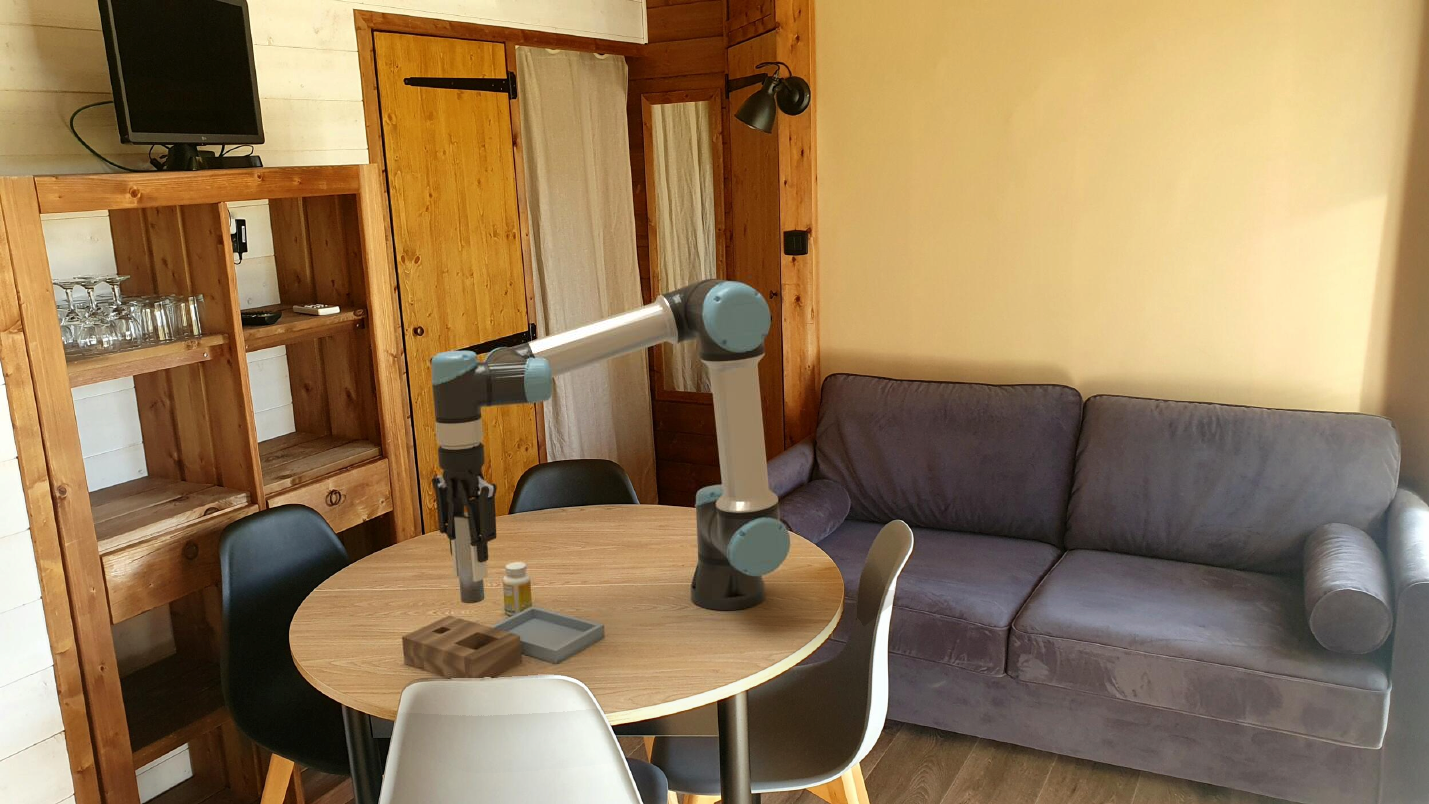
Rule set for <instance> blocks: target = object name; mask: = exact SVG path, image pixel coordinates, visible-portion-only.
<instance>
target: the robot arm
mask: <svg viewBox="0 0 1429 804" xmlns="http://www.w3.org/2000/svg"><path fill="white" fill-rule="evenodd" d="M770 311H771V310H770V308H769V304H768V303H767V301H766V299H765V298H764V296H763V295H762V294H761V293H760V292H759V291H757V289H755V288H753V287H751V286H750V285H748V284H746V283H743V282H740V281H735V280H734V281H732V280H725V279H720V278H706V279H702V280H698V281H696V282H693V283H690V284H688V285H685V286H682V287H679V288H677V289H675V290H672V291H669V292H666V293H662V294H660V295H658V296H657V297H656V299H655V301H654V302H651V303H649V304H646V305H642V306H640V307H636V308H634V309H633V308H632V309H630V310H627V311H624V312H623V311H622V312H620V313H616V314H613V315H610V316H607V317H604V318H600V319H597V320H594V321H592V322H588V323H585V324H582V325H579V326H576V327H571V328H569V329H566V330H563V331H559V332H556V333H553V334H549V335H547V336H543V337H540V338H538V339H534V340H532V341H528V342H524V343H521V344H518V345H515V346H511V347H507V346H504V347H503V346H501V347H497V348H495V349H492V350H491V351H489V352H488V354H487V355H486V356H485V358H484V360H483V361H479V359H478V355H477V353H476V352H474V351H471V350H451V351H449V350H448V351H443V352H439V353H436V354H435V355H434V356H433V357H432V359H431V362H430V363H431V364H430V365H431V389H432V398H433V407H434V409H433V410H434V417H435V418H434V419H435V434H436V435H435V436H436V437H435V438H436V444H438V445H439V446H438V448H437V457H438V466H439V468H440V469H441V470H443V471H442V475H441V474H440V475H439V476H435V477H433V478H431V484H432V487H433V488H434V493H435V503H436V512H437V519H438V520H437V522H438V531H439V532H440V534H442V535H444V534H445V535H446V537H447V538H448V539H449V547H450V548H449V549H450V554H451V556H452V566H453V577H456V578H459V572H458V560H457V548H456V535H455V523H454V516H455V515H457V514H460V513H464V512H465V508H466V512H467V514H468V518H469V523H470V527H471V532H472V536H473V541H474V542H472V543H471V544H470V547H471V560H472V573H473V581H475V582H477V581H479V580H482V579H483V580H485V579H486V578H488V577H489V573H488V561H489V547H488V546H489V545H488V543H489V542H491V541H494V540H495V539H497V519H496V517H497V515H496V498H495V497H496V494H497V489H498V487H497V485H496V484H495V483H491V484H490V483H488V482H487V481H486V480H485V476H484V474H483V471H482V469H483V466H484V465H485V464H486V463H485V461H486V458H485V446H484V444H483V443H482V441H483V440H484V434H483V423H482V421H483V420H482V408H487V407H489V408H490V407H499V406H509V405H523V404H530V405H532V404H534V403H536V404H537V403H541V402H546V401H549V400H550V399H551V398H552V393H553V378H556V377H559V376H562V375H565V374H568V373H571V372H573V371H574V372H575V371H577V370H581V369H583V368H586V367H590V366H594V365H597V364H600V363H603V362H606V361H608V360H611V359H614V358H615V359H616V358H618V357H621V356H624V355H629V354H630V353H633V352H637V351H640V350H643V349H646V348H649V347H652V346H655V345H658V344H662V343H664V342H668V343H670V344H672V345H676V344H680V343H683V342H686V341H693V340H698V345H699V353H700V354H699V356H700V361H701V362H702V363H704V365H706V366H707V367H708V368H709V369H710V379H711V390H712V400H713V401H712V402H713V408H714V410H713V411H714V418H715V419H714V420H715V427H716V428H715V429H716V438H717V448H718V450H717V451H718V457H719V459H718V460H719V467H720V476H721V484H714V485H709V486H705V487H702V488H700V489H699V490H697V492H696V495H695V504H694V508H695V512H696V513H695V516H696V538H697V539H696V542H697V563H696V567H695V570H694V574H693V576H692V577H693V578H692V581H691V584H690V600H691V601H692V603H694V604H695V605H697V606H698V607H702V608H704V609H710V610H716V611H734V610H735V611H736V610H742V609H747V608H750V607H755V606H756V605H758V604H760V603H762V601H764V599H765V598H766V585H765V581H764V579H763V576H766V575H768V574H770V573H772V572H775V570H777V569H779V568H780V566H781V565H782V564H783V562H785V560H786V558H787V557H788V555H789V552H790V548H791V536H790V533H789V530H788V529H787V526H786V525H785V524H784V523H783V522H782V521H781V517H780V516H781V515H780V505H779V497H778V495H777V494H775V493H774V492H773V491H772V490H771V489H770V488H769V487H770V486H769V485H770V484H769V477H768V476H769V475H768V465H767V455H766V454H767V452H766V444H765V433H764V432H765V431H764V421H763V412H762V402H761V401H762V400H761V398H762V397H761V390H760V380H759V366H758V364H759V362H760V361H761V359H762V358H763V357H764V356H765V354H766V353H765V338H766V337H767V336H768V333H769V331H770V328H771V319H772V318H771V312H770Z"/></svg>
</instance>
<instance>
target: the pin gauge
mask: <svg viewBox="0 0 1429 804" xmlns="http://www.w3.org/2000/svg"><path fill="white" fill-rule="evenodd" d="M454 523H455V535H456V548H457V560H458V572H459V576H458V584H459V593H460V594H459V596H460V602H461V603H464V604H477V603H480V602H482V601H484V600H485V587H484V586H485V585H484V579H482V580H479V581H477V582H475V581H473V573H472V560H471V547H470V544H471V543H472V542H474V541H473V536H472V532H471V527H470V523H469V518H468V514H467V511H466V512H465V511H464V513H460V514H457V515H455V516H454Z"/></svg>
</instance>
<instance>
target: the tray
mask: <svg viewBox="0 0 1429 804" xmlns="http://www.w3.org/2000/svg"><path fill="white" fill-rule="evenodd" d="M489 627H492V628H496V629H499V630H502V631H506V632H509V633H513V634H516V635H520V642H521V655H524V656H528V657H531V658H535V659H538V660H542V661H544V662H549V663H552V664H555V665H558V664H560V663H561V662H563V661H566V660H568V659H569V658H571V657H572V656H574V655H576V654H578V653H580V652H581V651H583V650H585V649H586V648H588V647H591V646H593V644H595V643H598V642H600V641H601V640H602V639H605V637H606V635H605V624H603V623H599V622H596V621H591V620H588V619H584V618H580V617H576V616H572V615H569V614H564V613H562V612H557V611H553V610H550V609H546V608H543V607H542V608H541V607H538V606H534V605H532V607H530V608H528V609H526V610H523V611H521V612H519V613H517V614H515V615H513V616H510V617H507V618H505V619H502V620H501V621H499V622H497V623H495V624H492V625H490V626H489Z"/></svg>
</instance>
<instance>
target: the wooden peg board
mask: <svg viewBox="0 0 1429 804" xmlns="http://www.w3.org/2000/svg"><path fill="white" fill-rule="evenodd" d="M401 642H402V653H403V661H404V664H405V665H409V666H412V667H415V668H418V669H421V670H424V671H427V672H430V673H433V674H435V675H438V676H440V677H444V678H448V679H450V678H484V677H493V678H495V677H497V676H499V675H501V674H502V673H504V672H506V671H508V670H510V669H511V668H514V667H515V666H517V665H519V664H521V663H522V662H523V660H522V659H523V658H522V657H523V656H522V654H521V642H520V635H516V634H513V633H509V632H506V631H502V630H499V629H496V628H492V627H490V626H488V625H485V624H481V623H478V622H474V621H472V620H471V621H470V620H468V619H464V618H460V617H457V616H453V615H450V614H449V615H447V616H444V617H443V618H440V619H439V620H436V621H434V622H431V623H429V624H428V625H425V626H423V627H421V628H418V629H415V630H414V631H412V632H410V633H407V634H405V635H403V636H401Z"/></svg>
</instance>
